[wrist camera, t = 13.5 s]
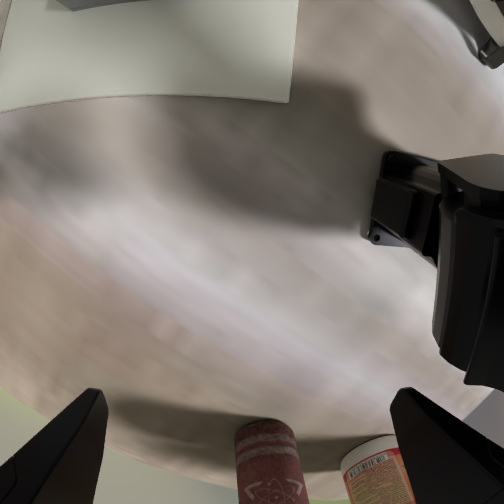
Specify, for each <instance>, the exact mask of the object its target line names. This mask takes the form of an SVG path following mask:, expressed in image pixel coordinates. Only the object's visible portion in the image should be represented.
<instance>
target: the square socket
mask: <svg viewBox="0 0 504 504" xmlns="http://www.w3.org/2000/svg"><path fill="white" fill-rule="evenodd" d="M56 1H57V2H59V3H61V4H62V5H64V6H65V7H67V8H68V9H70V10H71V11H73V12H74V11H79V10H84V9H89V8H94V7H100V6H106V5H113V4H120V3H128V2H137V1H148V0H56Z"/></svg>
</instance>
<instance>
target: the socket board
mask: <svg viewBox="0 0 504 504" xmlns="http://www.w3.org/2000/svg"><path fill="white" fill-rule="evenodd" d="M297 12H298V0H148V1H137V2H128V3H120V4H113V5H106V6H100V7H94V8H89V9H84V10H79V11H74V12H73V11H71V10H70V9H68V8H67V7H65V6H64V5H62V4H61V3H59V2H57V1H56V0H12V3H11V7H10V10H9V14H8V17H7V21H6V25H5V29H4V34H3V38H2V43H1V48H0V113H4V112H9V111H13V110H18V109H23V108H29V107H34V106H40V105H46V104H53V103H60V102H68V101H76V100H86V99H96V98H109V97H126V96H208V97H225V98H238V99H250V100H260V101H269V102H277V103H284V104H286V103H288V102H289V96H290V86H291V76H292V66H293V56H294V45H295V34H296V23H297Z"/></svg>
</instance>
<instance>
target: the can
mask: <svg viewBox="0 0 504 504" xmlns="http://www.w3.org/2000/svg"><path fill="white" fill-rule="evenodd" d="M234 442H235V457H236V471H237V485H238V497H239V504H309V500H308V495H307V491H306V486H305V482H304V477H303V473H302V469H301V464H300V460H299V455H298V451H297V446H296V442H295V438H294V433H293V431H292V430H291V428H290V427H289V426H287V425H286V424H284V423H282V422H279V421H275V420H263V421H256V422H253V423H250V424H248V425H246V426H244V427H242V428H241V429H240V430H239V432H238V433H237V434H236V436H235V439H234Z"/></svg>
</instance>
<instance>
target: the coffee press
mask: <svg viewBox="0 0 504 504" xmlns="http://www.w3.org/2000/svg"><path fill="white" fill-rule="evenodd" d="M470 2H471V4H472V6H473V8H474V10H475V12H476V14H477V16H478V17H479V19H480V21H481V22H482V24H483V25H484V27H485V28H486V30H487V31H488V33H489V34H490V35H491V36H490V39H489V41H488V42H487V43H486V44H485V45H484V46H483V47H482V49H481V50H480V52H479V57H480V58H481V59H482V60H483V61H484V62H485V63H486V64H487V65H488V66H489V67H490V68H491V69H495V68H497V67H499V66H500V65H501V64H503V63H504V0H470Z"/></svg>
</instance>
